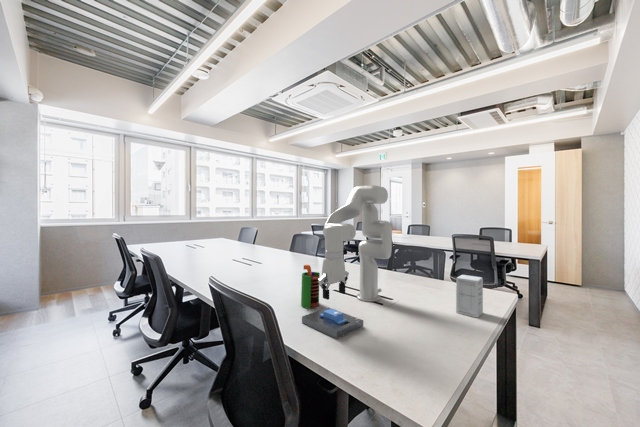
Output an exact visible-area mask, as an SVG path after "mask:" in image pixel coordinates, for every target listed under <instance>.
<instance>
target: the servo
mask: <svg viewBox="0 0 640 427" xmlns="http://www.w3.org/2000/svg"><path fill="white" fill-rule="evenodd" d="M333 309H334V308H331V309H329V310H326V311H323V313H322V314H320V316H321V317H323V319H324V320H326V321H328V322H331V323H333V324H340V325H342V326H343V325H345V324H344V322H347V319H344V318H343V313H344V312H342V311H339V310H337V309H334V310H333ZM336 310H337V311H336ZM338 311H339V312H338ZM341 312H342V313H341Z"/></svg>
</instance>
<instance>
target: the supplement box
mask: <svg viewBox="0 0 640 427" xmlns="http://www.w3.org/2000/svg"><path fill="white" fill-rule="evenodd" d="M483 281H484V279H483V277H481V276H475V275H468V274H467V275H466V274H461V275H459V276H457V277H456V282H455V283H456V285H455V289H456V290H455V295H456V297H455V298H456V299H455V306H456V307H455V312H456V313H457V314H459V315H463V316H469V317H473V318H479V317H480V316H481V315H482V314H484V311H483V310H484V308H483V307H484V306H483V305H484V303H483V301H484V300H483V299H484V298H483V296H484V290H483V289H484V286H483V285H484V282H483Z"/></svg>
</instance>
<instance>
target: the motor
mask: <svg viewBox="0 0 640 427" xmlns="http://www.w3.org/2000/svg"><path fill="white" fill-rule="evenodd" d="M303 270H306V272H302V273H301V291H300V292H301V294H300V296H301V297H300V298H301V299H300V307H302V308H304V309H312V308H313V309H315V308H318V307H320V284H319V282H318V280H319V279H320V278H321V277H320V274H321V273H320V272H318V271H312V268H311V265H309V264H304V265H303Z"/></svg>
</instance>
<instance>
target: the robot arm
mask: <svg viewBox="0 0 640 427" xmlns="http://www.w3.org/2000/svg"><path fill="white" fill-rule="evenodd" d="M388 199H389V193H388V189H386V188H385V187H384V186H380V185H374V184H373V185H372V184H371V185H370V184H369V185H368V184H367V185H357V186H354V187H353V188H352V189H351V191H350V193H349V195H348V197H347V199H346V201H345V203H344V205H343V206H341V207H340V208H338V209H336V210H335V211H333V212H332V213H331V214H330V215H329V216H328V218H327V220H326V221H325V224H324V226H323V230H322V232H323V233H322V234H323V237H324V259H323V261H322V269H321V277H320V278H319V280H318V282H319V288H321V289H322V298H323V299H325V300H326V301H327V300H330V289H329V288H330V286H331V285H334V284H337V283H338V292H339V294H343V295H344V294H346V285H347V281H348V277H349V274H350V273H349V272H348V271H347V270H346V265H345V264H346V263H345V258H344V242H351V241H353V240H354V239H355V237H356V235H357V233H356V232H357V230H356V227H355V226H354V225H352V224H350V223H343V222H346V221H349V220H352V219H355V218H357V217H359V216H360V215H361V214H362V217H361V218H362V219H361V220H362V221H361V233H362V236H363V237H364V238H371V239H372V240H371V239H364V240H361V241H360V242H359V244H358V253H359V254H358V255H359V293H358V294H357V295H356V298H357V299H358V300H360V301H363V302H367V303H368V302H372V303H373V302H378V301H380V300H381V295H380V294H379V293H381V292H382V291H383V290H382V289H381V288H379V287H378V280H379V278H378V276H379V266H378V263H377V261H376V260H375V259H377V260H378V259H380V260H388V259H390V258H391V257H392V249H393V248H392V245H393V243H392V242H393V228H392V224H391V222H390V221H389V220H379V210H378V208H377V207H376V204H379V205H380V204H382V205H383V204H385V203H387V201H388ZM373 239H381V240H373Z"/></svg>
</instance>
